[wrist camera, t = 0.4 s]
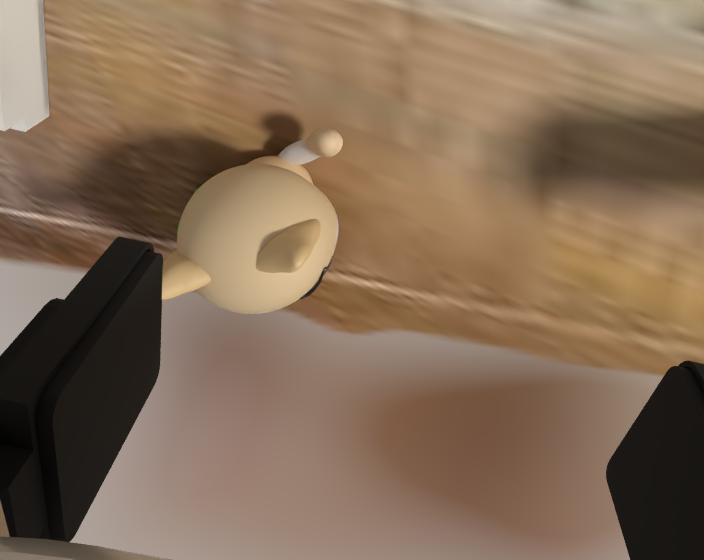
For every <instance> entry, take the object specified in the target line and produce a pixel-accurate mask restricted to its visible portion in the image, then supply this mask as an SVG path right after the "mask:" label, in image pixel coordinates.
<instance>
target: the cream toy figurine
mask: <svg viewBox="0 0 704 560" xmlns="http://www.w3.org/2000/svg"><path fill="white" fill-rule="evenodd" d="M342 145H343V140H342V137H341V136H340V134H339V133H338V132H336V131H334V130H332V129H328V128H322V129H318V130H316V131H315V132H313V133H312V134H311V135H310V136H309V137H307V138H305V139H302V140H300V141H297V142H295V143H293V144H291V145H289V146H287V147H286V148H285V149H284V150H283V151H282V152H281V153H280V154H279V155H278V156H265V157H260V158H257V159H255V160H252V161H251V162H249V163H247V164H246V165H241V166H237V167H233V168H230V169H227V170H225V171H223V172H220V173H219V174H217V175H215V176H213V177H212V178H210V179H209V180H208V181H206V182H205V183H204V184H203V185H202V184H201V185H200V186H199V187H198V188H197V189H196V190H195V192H194V194H193V196H192V197H191V199H190V200H189V202H188V203H187V205H186V207H185V209H184V211H183V214H182V216H181V219H180V223H179V225H178V227H177V232H178V233H177V250H176V251H174V252H173V253H171V254H170V255H169V256H168V257H167V258H166V260H165V262H164V264H163V273H162V300H167V299H171V298H174V297H176V296H178V295H181V294H183V293H187V292H190V291H194V290H196V291H197V292H198V293H199V294H200V295H201V296H202V297H203V298H204V299H206V300H207V301H209V302H210V303H212V304H214V305H216V306H218V307H220V308H223V309H225V310H229V311H233V312H237V313H244V314H258V313H266V312H271V311H274V310H278V309H280V308H283V307H285V306H287V305H290V304H291V303H293V302H295V301H296V300H298V299H303V298H305V297H307V296H309V295H310V294H311V293H313V292H314V290H315V289H316V288H317V287H318V285H319V284H320V283H321V280H322V277H323V275H324V274H325V273H326V271H327V270H328V268H329V267H330V264H331V260H332V257H333V256H332V255H333V253H334V250H335V247H336V243H337V238H338V220H337V215H336V212H335V210H334V208H333V206H332V204H331V203H330V201H329V200H328V198H327V197H326V196H325V195H324V194H323V193H322V192H321V191H320V190H319V189H318V188H317V187H315V186H314V185H313V182H312V180H311V177H310V175H309V173H308V172H307V170H306V169H305V168H304V167H303V166H302V165H301V164H305V163H308V162H310V161H313V160H315V159H317V158H319V157H321V156H323V157H332V156H334V155H336V154H337V153H338V152H339V151H340V150H341V148H342ZM329 262H330V263H329Z"/></svg>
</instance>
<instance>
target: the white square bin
mask: <svg viewBox="0 0 704 560" xmlns="http://www.w3.org/2000/svg"><path fill="white" fill-rule="evenodd" d="M49 116H50V115H49V97H48V78H47V60H46V42H45V23H44V5H43V0H0V130H2V131H6V130H7V129H9V128H11V129H15V130H19V131H23V132H26V131H27V130H29V129H30V128H32V127H33V126H35V125H37V124H38V123H40V122H41V121H43V120H44V119H46V118H47V117H49Z"/></svg>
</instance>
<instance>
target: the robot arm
mask: <svg viewBox="0 0 704 560" xmlns="http://www.w3.org/2000/svg"><path fill="white" fill-rule="evenodd" d="M162 273H163V257H162V255H161V254H159V253H155V252H154V249H153V245H152V244H151V243H147V242H142V241H138V240H133V239H129V238H124V237H118V238H117V239H115V240H114V242H113V243H112V244H111V245H110V246H109V248H108V249H107V250H106V251H105V252H104V253H103V255H102V256H101V257H100V258H99V259H98V261H97V262H96V263H95V264H94V265H93V266H92V268H91V269H90V270H89V271H88V272H87V274H86V275H85V276H84V277H83V278H82V279H81V281H80V282H79V283H78V284H77V285H76V287H75V288H74V289H73V290H72V291H71V292H70V294H69V295H68V296H67V297H66V298H65V300H63V299H58V298H56V299H53V300H50V301H49V302H48V303H47V304H46V305H45V306H44V307H43V308H42V309H41V311H40V312H39V313H38V314H37V315H36V316H35V317H34V319H33V320H32V321H31V322H30V323H29V324H28V325H27V326H26V327H25V329H24V330H23V331H22V332H21V333H20V334H19V335H18V337H17V338H16V339H15V340H14V341H13V343H11V345H10V346H9V347H8V348H7V349H6V350H5V351H4V352H3V354H2V355H1V356H0V560H170V559H165V558H159V557H154V556H148V555H143V554H137V553H132V552H126V551H121V550H115V549H110V548H105V547H99V546H92V545H85V544H78V543H70V541H71V540H72V539H73V537H74V536H75V534H76V532H77V531H78V529H79V527H80V525H81V523H82V521H83V519H84V517H85V515H86V514H87V512H88V510H89V508H90V506H91V504H92V502H93V500H94V498H95V497H96V494H97V493H98V491H99V489H100V487H101V485H102V483H103V481H104V479H105V478H106V475H107V474H108V472H109V470H110V468H111V466H112V464H113V462H114V460H115V459H116V457H117V455H118V453H119V451H120V449H121V447H122V445H123V444H124V442H125V440H126V438H127V436H128V434H129V432H130V430H131V428H132V427H133V425H134V423H135V421H136V419H137V417H138V415H139V413H140V411H141V409H142V408H143V406H144V404H145V402H146V400H147V398H148V396H149V394H150V392H151V390H152V389H153V387H154V385H155V383H156V380H157V377H158V374H159V369H160V347H161V346H160V345H161V311H162ZM606 478H607V483H608V486H609V489H610V493H611V496H612V500H613V503H614V506H615V510H616V513H617V516H618V520H619V523H620V526H621V530H622V533H623V536H624V540H625V543H626V547H627V550H628V553H629V557H630V560H704V364H701V363H697V362H692V361H684V362H682V363H681V364H680V365H679V366H673V367H671V368H670V369H669V370H668V371H667V372H666V374H665V376H664V377H663V379H662V380H661V382H660V383H659V385H658V386H657V388H656V389H655V391H654V392H653V394H652V396H651V397H650V399H649V400H648V402H647V403H646V405H645V406H644V408H643V409H642V411H641V412H640V414H639V416H638V417H637V419H636V420H635V422H634V423H633V425H632V426H631V428H630V429H629V431H628V433H627V434H626V436H625V437H624V439H623V440H622V442H621V443H620V445H619V446H618V448H617V449H616V451H615V453H614V454H613V456H612V457H611V459H610V461H609V463H608V465H607V470H606Z"/></svg>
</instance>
